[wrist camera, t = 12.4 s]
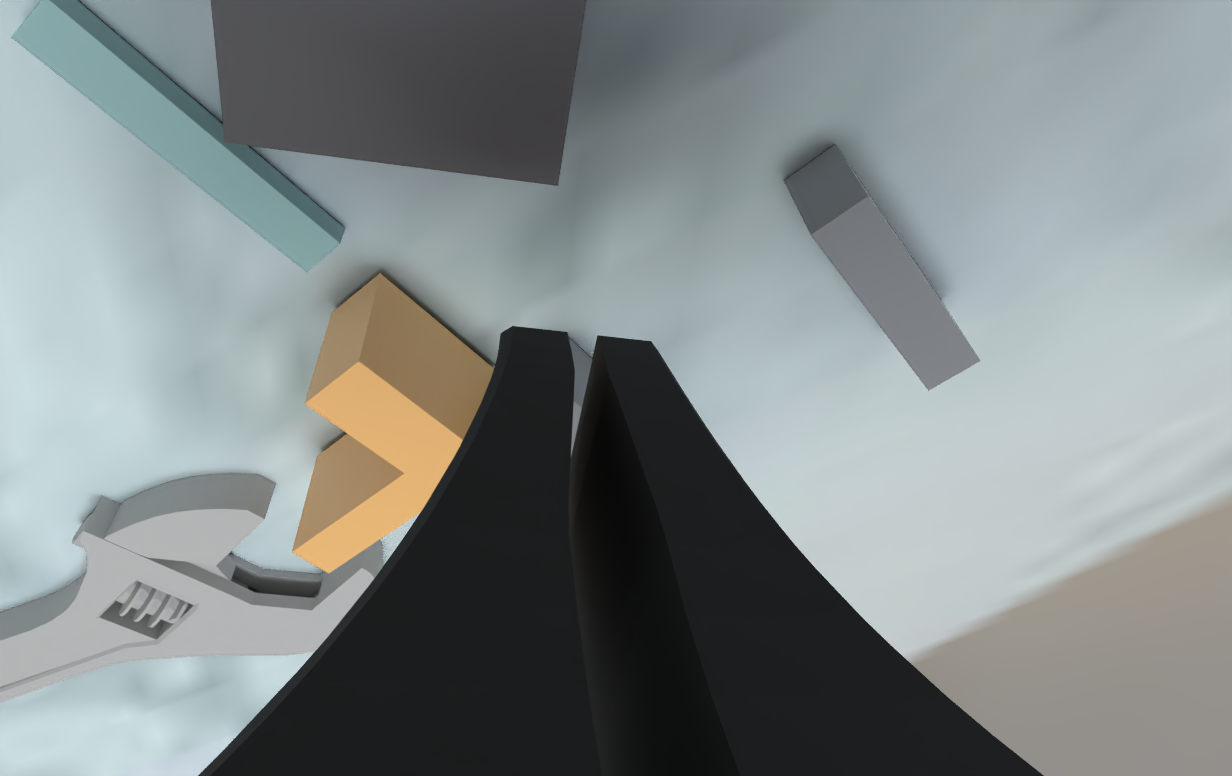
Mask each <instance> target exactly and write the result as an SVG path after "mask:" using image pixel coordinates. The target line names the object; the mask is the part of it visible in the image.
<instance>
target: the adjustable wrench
mask: <svg viewBox="0 0 1232 776" xmlns="http://www.w3.org/2000/svg"><path fill="white" fill-rule="evenodd" d="M275 485H276V483H274V482H273V481H271V480H269V479H267V478H265V477H263V476H261V475H260V474H242V473H227V474H208V475H200V476H192V477H187V478H182V479H178V480H173V481H170V482H167V483H164V484H162V485H159V486H156V487H153V488H151V489H148V490H146V491H144V492H141V493H139V494H137V495H135V496H133V497H131V498H129V499H127V500H125V501H124V502H122V503H121V504H120V503H118V502H115V501H113V500H111V499H109V498H107V497H104V496H102V497H101V499H100V500H99V502H98V504H97V506H96V508H95V510H94V512H93V513H92V514H90V515H89V516H88V517H87V518H86V520H85V521H84V522H83V523H82V525H81V526H80V528H79V529H78V531H77V533H76V534H75V536H74V538H73V541H72V543H73V544H75V545H77V546H80V547H82V548H84V549H85V551H86V553H87V572H86V573H85V574H84V575H83V576H82V577H80V578H79V579H77V580H76V581H75V582H73V583H72V584H70V585H69V586H67V587H65V588H63V589H61V590H59V591H57V592H55V593H52V594H50V595H48V596H45V597H42V598H39V599H37V600H34V601H31V602H28V603H25V604H22V605H20V606H17V607H14V608H11V609H8V610H5V611H3V612H0V703H1V702H4V701H7V700H9V699H12V698H15V697H18V696H21V695H23V694H26V693H29V692H32V691H35V690H38V689H40V688H43V687H46V686H49V685H52V684H54V683H57V682H60V681H63V680H66V679H68V678H71V677H74V676H77V675H80V674H83V673H85V672H88V671H91V670H95V669H98V668H102V667H106V666H110V665H114V664H119V663H126V662H133V661H140V660H151V659H165V658H179V657H194V656H244V655H293V654H301V653H306V652H311V651H316V650H317V649H318V648H319V646H320V645H321V644H322V643H323V642H324V641H325V639H326V638H327V637H328V636H329V635H330V633H331V632H332V631H333V630H334V628H335V627H336V626H337V625H338V624H339V622H340V621H341V620H342V619H343V617H344V616H345V615H346V614H347V612H348V611H349V610H350V609H351V607H352V606H353V605H354V604H355V602H356V601H357V600H358V599H359V597H360V596H361V595H362V594H363V592H364V591H365V590H366V589H367V587H368V586H369V585H370V584H371V582H372V581H373V580H374V578H375V577H376V576H377V574H378V573H379V571H380V570H381V569H382V567H383V551H382V543H381V541H380V540H378V541H376V542H375V543H374V544H372V545H371V546H369V547H368V548H366V549H365V550H363V551H362V552H360V553H359V554H357V555H356V556H354V557H353V558H351V559H350V560H348V561H347V562H345V563H344V564H342V565H341V566H339V567H338V568H336V569H335V570H333V571H332V572H330V573H327V572H325V571H323V572H322V573H321V574H312V573H302V572H291V571H280V570H269V569H262V568H260V567H258V566H256V565H254V564H252V563H249V562H247V561H245V560H243V559H241V558H239V557H237V556H235V555H232V554H230V552H231V551H232V550H233V549H234V548H235V547H236V546H237V545H238V544H239V543H240V542H241V541H242V540H243V539H244V538H245V537H246V536H248V535H249V534H250V533H251V532H252V531H253V530H254V529H255V528H256V527H257V526H258V525H259V524H260V523H261V522H262V521H263V520H264V519H265V516H266V513H267V510H268V507H269V504H270V501H271V497H272V494H273V491H274V488H275Z"/></svg>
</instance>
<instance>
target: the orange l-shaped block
mask: <svg viewBox="0 0 1232 776" xmlns="http://www.w3.org/2000/svg"><path fill="white" fill-rule="evenodd" d="M493 371H494V368H493V367H491V366H490V365H489V364H488V363H487V362H485V361H484V360H483V359H482V358H481V357H479V356H478V355H477V354H476V353H475V352H474V351H472V350H471V349H470V348H469V347H468V346H466V345H465V344H464V343H463V342H462V341H460V340H459V339H458V338H457V337H456V336H454V335H453V334H452V333H451V332H450V331H449V330H447V329H446V328H445V327H444V326H443V325H441V324H440V323H439V322H438V321H437V320H435V319H434V318H433V317H432V316H431V315H430V314H428V313H427V312H426V311H425V310H424V309H422V308H421V307H420V306H419V305H418V304H416V303H415V302H414V301H413V300H412V299H410V298H409V297H408V296H407V295H406V294H405V293H403V292H402V291H401V290H400V289H399V288H397V287H396V286H395V285H394V284H393V283H391V282H390V281H389V280H388V279H387V278H385V277H384V276H383V275H382V274H381V273H379V274H378V275H377V276H376V277H375V278H373V279H372V280H371V281H370V282H368V283H367V284H366V285H365V286H364V287H362V288H361V289H360V290H359V291H358V292H356V293H355V294H354V295H353V296H351V297H350V298H349V299H348V300H347V301H345V302H344V303H343V304H342V305H341V306H339V307H338V308H337V309H336V310H334V311H333V312H332V314H331V317H330V320H329V324H328V327H327V330H326V334H325V337H324V340H323V344H322V347H321V350H320V354H319V357H318V361H317V364H316V367H315V371H314V374H313V377H312V381H311V384H310V387H309V391H308V394H307V397H306V401H305V404H306V405H307V406H308V407H310V408H311V409H313V410H314V411H316V412H317V413H318V414H320V415H321V416H323V417H324V418H326V419H327V420H329V421H330V422H331V423H333V424H334V425H336V426H337V427H339V428H340V429H341V430H343V431H344V432H346V433H347V434H346V435H345V436H343V437H342V438H341V439H339V440H338V441H337V442H335V443H334V444H333V445H331V446H330V447H329V448H327V449H326V450H325V451H323V452H322V453H321V454H319V455H318V456H317V459H316V463H315V467H314V470H313V474H312V478H311V482H310V486H309V489H308V493H307V497H306V501H305V504H304V508H303V512H302V516H301V520H300V523H299V527H298V531H297V535H296V539H295V542H294V546H293V550H292V553H294V554H296V555H298V556H299V557H301V558H303V559H305V560H306V561H308V562H310V563H311V564H313V565H315V566H317V567H318V568H320V569H322V570H324V571H325V572H327V573H330V572H332V571H333V570H335V569H336V568H338V567H339V566H341V565H342V564H344V563H345V562H347V561H348V560H350V559H351V558H353V557H354V556H356V555H357V554H359V553H360V552H362V551H363V550H365V549H366V548H368V547H369V546H371V545H372V544H374V543H375V542H376V541H378V540H379V539H381V538H382V537H384V536H385V535H387V534H388V533H390V532H391V531H393V530H394V529H396V528H397V527H399V526H400V525H402V524H403V523H405V522H406V521H408V520H409V519H411V518H412V517H414V516H415V515H417V514H418V513H420V512H421V511H422V510H423V508H424V507H425V505H426V503H427V502H428V500H429V498H430V496H431V495H432V493H433V491H434V490H435V488H436V486H437V485H438V483H439V481H440V480H441V478H442V476H443V475H444V473H445V471H446V470H447V468H448V466H449V465H450V463H451V461H452V460H453V458H454V456H455V454H456V452H457V451H458V449H459V447H460V445H461V443H462V441H463V439H464V437H465V435H466V433H467V431H468V429H469V427H470V425H471V422H472V420H473V418H474V416H475V414H476V412H477V410H478V408H479V406H480V404H481V402H482V399H483V397H484V394H485V392H486V389H487V387H488V384H489V382H490V379H491V377H492V374H493Z"/></svg>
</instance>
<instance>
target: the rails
mask: <svg viewBox="0 0 1232 776" xmlns="http://www.w3.org/2000/svg"><path fill="white" fill-rule="evenodd" d="M11 38H13V39H14V40H15V41H16V42H18V43H19V44H20V45H21V46H23V47H24V48H25V49H26V50H28V51H29V52H30V53H31V54H33V55H34V56H35V57H36V58H38V59H39V60H40V61H41V62H43V63H44V64H45V65H46V66H48V67H49V68H50V69H52V70H53V71H54V72H55V73H57V74H58V75H59V76H60V77H62V78H63V79H64V80H65V81H67V82H68V83H69V84H70V85H72V86H73V87H74V88H75V89H77V90H78V91H79V92H80V93H82V94H83V95H84V96H85V97H87V98H88V99H89V100H91V101H92V102H93V103H94V104H96V105H97V106H98V107H99V108H101V109H102V110H103V111H104V112H106V113H107V114H108V115H109V116H111V117H112V118H113V119H114V120H116V121H117V122H118V123H119V124H121V125H122V126H123V127H124V128H126V129H127V130H128V131H130V132H131V133H132V134H133V135H135V136H136V137H137V138H138V139H140V140H141V141H142V142H143V143H145V144H146V145H147V146H148V147H150V148H151V149H152V150H153V151H155V152H156V153H157V154H158V155H160V156H161V157H162V158H163V159H165V160H166V161H167V162H169V163H170V164H171V165H172V166H174V167H175V168H176V169H177V170H179V171H180V172H181V173H182V174H184V175H185V176H186V177H187V178H189V179H190V180H191V181H192V182H194V183H195V184H196V185H197V186H199V187H200V188H201V189H202V190H204V191H205V192H206V193H208V194H209V195H210V196H211V197H213V198H214V199H215V200H216V201H218V202H219V203H220V204H221V205H223V206H224V207H225V208H226V209H228V210H229V211H230V212H231V213H233V214H234V215H235V216H236V217H238V218H239V219H240V220H241V221H243V222H244V223H245V224H247V225H248V226H249V227H250V228H252V229H253V230H254V231H255V232H257V233H258V234H259V235H260V236H262V237H263V238H264V239H265V240H267V241H268V242H269V243H270V244H272V245H273V246H274V247H275V248H277V249H278V250H279V251H280V252H282V253H283V254H284V255H286V256H287V257H288V258H289V259H291V260H292V261H293V262H294V263H296V264H297V265H298V266H299V267H301V268H302V269H303V270H304V271H306V272H307V271H309V270H310V269H311V268H312V267H313V266H314V265H316V264H317V263H318V262H319V261H320V260H321V259H323V258H324V257H325V256H326V255H327V254H328V253H330V252H331V251H332V250H333V249H334V248H335V247H336V246H338V245H339V244H340V242H341V239H342V236H343V233H344V229H345V228H344V227H343V226H342V225H340V224H339V223H338V222H337V221H336V220H334V219H333V218H332V217H331V216H330V215H329V214H327V213H326V212H325V211H324V210H323V209H322V208H320V207H319V206H318V205H317V204H316V203H315V202H313V201H312V200H311V199H310V198H309V197H307V196H306V195H305V194H304V193H303V192H302V191H300V190H299V189H298V188H297V187H296V186H295V185H293V184H292V183H291V182H290V181H289V180H288V179H286V178H285V177H284V176H283V175H282V174H280V173H279V172H278V171H277V170H276V169H275V168H273V167H272V166H271V165H270V164H269V163H268V162H266V161H265V160H264V159H263V158H262V157H261V156H259V155H258V154H257V153H256V152H255V151H253V150H252V149H251V148H250V147H249V146H247V145H240V144H232V143H225V139H224V129H223V124H222V123H221V122H219V121H218V120H217V119H216V118H215V117H214V116H212V115H211V114H210V113H209V112H208V111H207V110H205V109H204V108H203V107H202V106H201V105H200V104H198V103H197V102H196V101H195V100H194V99H192V98H191V97H190V96H189V95H188V94H187V93H185V92H184V91H183V90H182V89H181V88H180V87H178V86H177V85H176V84H175V83H174V82H173V81H171V80H170V79H169V78H168V77H167V76H165V75H164V74H163V73H162V72H161V71H160V70H158V69H157V68H156V67H155V66H154V65H153V64H151V63H150V62H149V61H148V60H147V59H146V58H144V57H143V56H142V55H141V54H140V53H138V52H137V51H136V50H135V49H134V48H133V47H131V46H130V45H129V44H128V43H127V42H126V41H124V40H123V39H122V38H121V37H120V36H119V35H117V34H116V33H115V32H114V31H113V30H112V29H110V28H109V27H108V26H107V25H106V24H104V23H103V22H102V21H101V20H100V19H99V18H97V17H96V16H95V15H94V14H93V13H92V12H90V11H89V10H88V9H87V8H86V7H85V6H83V5H82V4H81V3H80V2H79V1H77V0H41V1H40V2H39V4H38V5H37V6H36V7H35V9H34V10H33V11H32V12H31V13H30V15H29V16H28V17H27V18H26V20H25V21H24V22H23V23H22V24H21V26H20V27H19V28H18V29H17V31H16V32H15V33H14V34H13V35H12V37H11Z"/></svg>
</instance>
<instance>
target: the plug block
mask: <svg viewBox="0 0 1232 776" xmlns="http://www.w3.org/2000/svg"><path fill="white" fill-rule="evenodd" d="M585 4H586V0H211V7H212V18H213V28H214V38H215V48H216V58H217V68H218V78H219V88H220V98H221V108H222V119H223V129H224V139H225V143H232V144H240V145H247V146H255V147H263V148H271V149H278V150H286V151H294V152H302V153H309V154H317V155H325V156H332V157H340V158H348V159H356V160H363V161H371V162H379V163H387V164H394V165H402V166H410V167H418V168H425V169H433V170H441V171H448V172H456V173H464V174H472V175H479V176H487V177H495V178H503V179H510V180H518V181H526V182H533V183H541V184H549V185H557V186H558V182H559V175H560V169H561V162H562V155H563V149H564V142H565V136H566V129H567V123H568V116H569V109H570V103H571V96H572V90H573V83H574V77H575V70H576V63H577V57H578V50H579V44H580V37H581V31H582V24H583V17H584V11H585Z"/></svg>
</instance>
